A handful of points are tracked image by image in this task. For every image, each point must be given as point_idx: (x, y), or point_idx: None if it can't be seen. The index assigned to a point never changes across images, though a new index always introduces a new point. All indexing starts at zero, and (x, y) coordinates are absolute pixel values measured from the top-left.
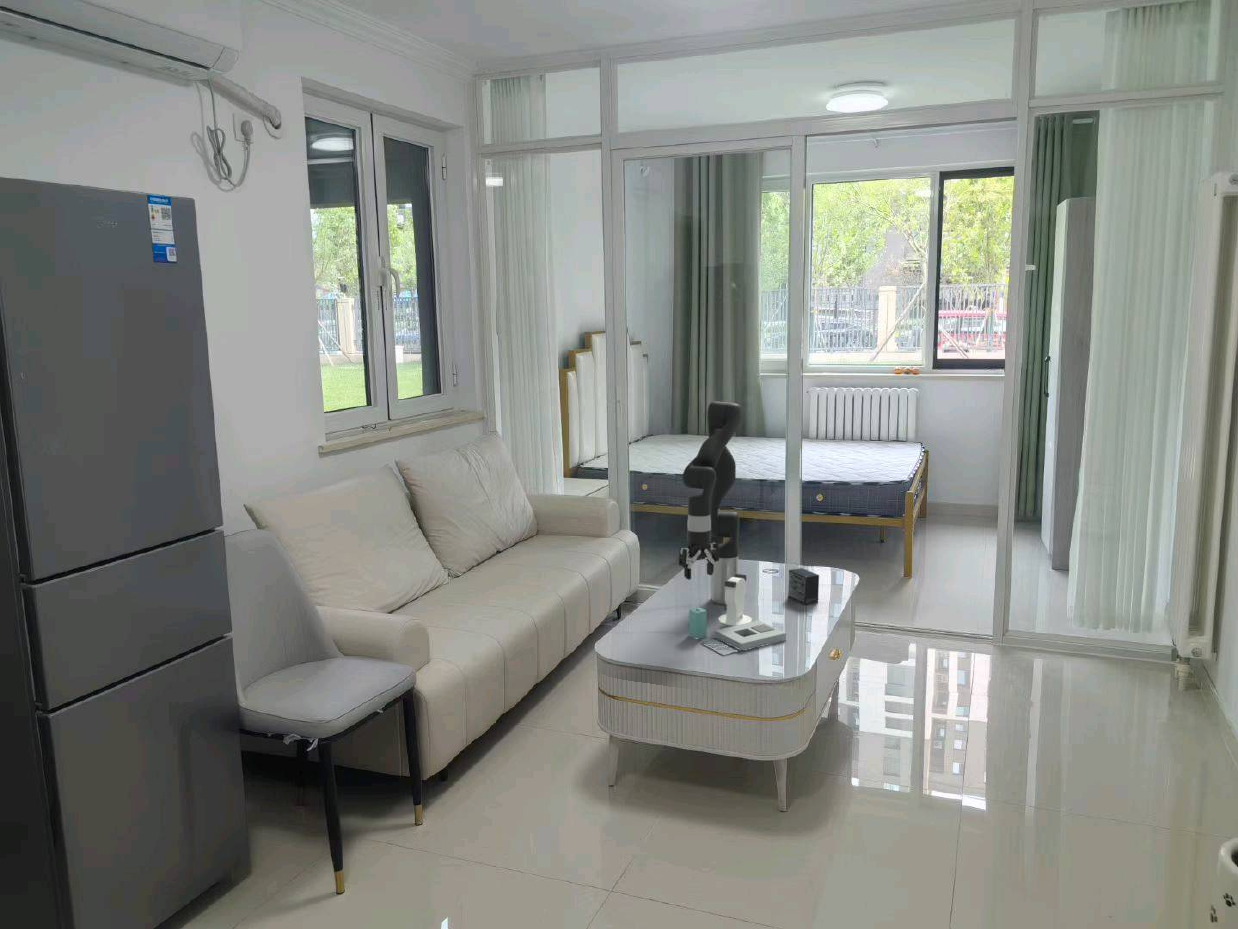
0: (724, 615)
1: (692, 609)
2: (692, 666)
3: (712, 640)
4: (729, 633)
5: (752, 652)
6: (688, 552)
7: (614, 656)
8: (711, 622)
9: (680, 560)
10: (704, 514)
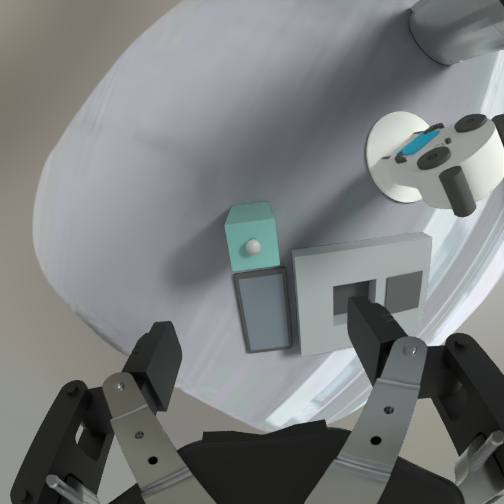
0: (397, 116)
1: (236, 231)
2: None
3: (269, 276)
4: (317, 293)
5: (316, 354)
6: (115, 501)
7: (42, 260)
8: (344, 137)
9: (60, 423)
10: None
